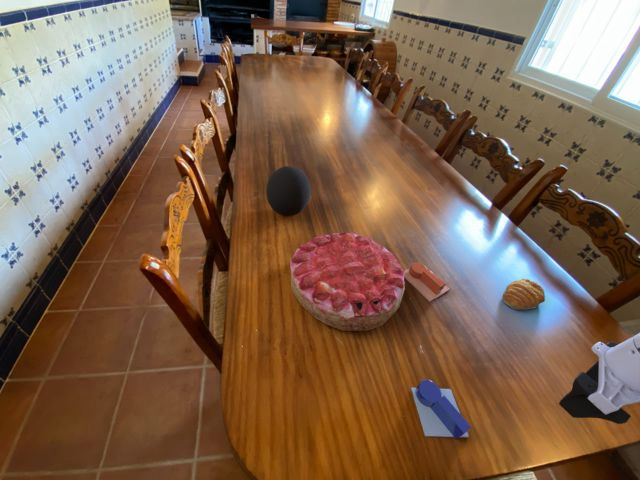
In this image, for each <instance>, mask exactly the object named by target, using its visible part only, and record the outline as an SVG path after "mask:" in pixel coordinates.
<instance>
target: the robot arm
mask: <svg viewBox="0 0 640 480" xmlns="http://www.w3.org/2000/svg"><path fill="white" fill-rule="evenodd" d="M590 350H591V351H592V352H593V353H594V354H595V355H596V356H597V357H598V360H597V361H596V362H595V363H594V364H593V365H592V366H591V367H589V369H588V370H586V372H585V371H581V372H580V373H579V374H578V375H577V376H576V377H575V378H574V380H573V382H572V387H571V390H570V391H569V392H568V393H566V395H564V396H563V397H562V398H561V399H560V401H559V402H558V404H559V407H561V408H562V409H563V410H565V412H566V413H567V414H568V415H570V417H572V418H576V419H592V418H593V419H601V420H605V421H608V422H612V423H614V424H617V425H623V424H627V423H628V422H629V419H630V418H631V417H632V415H631V414H629V412H627V411H626V410H625V409H624V408H622V407H625V406H628V405H633V404H638V403H640V332H638V333H636V334H635V335H633V336H631V337H630V338H628V339H626V340H624V341H622V342H621V343H619V344H618V343H617V342H614V341H609V342H607V343H606V344H605V343H604V342H602V341H597V342H596V343H594V345H593V346H591V348H590Z"/></svg>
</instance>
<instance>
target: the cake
mask: <svg viewBox="0 0 640 480" xmlns="http://www.w3.org/2000/svg"><path fill="white" fill-rule="evenodd" d="M289 265H290V286H291V290H292V292H293V294H294V297H295V298H296V299H297V300H298V302H299V303H300V305H301V307H303V308H304V309H305V310H306V311H307V312H308V313H309V314H311V316H313V317H314V318H315V319H317V320H318V321H319V322H321V323H322V324H325V325H327V326H330V327H332V328H335V329H338V330H341V331H350V332H351V331H352V332H353V331H354V332H363V331H364V332H365V331H370V330H373V329H376V328H378V327H381V326H383V325H384V324H385V323H386V322H387V321H388V320H389V319H390V318H391V317H392V316H393V315H394V314H395V313H396V312H397V311H398V310H399V308H400V306H401V304H402V303H401V302H402V299H403V296H404V293H405V290H406V288H405V287H406V286H405V278H404V271H405V270H404V268H403V267H402V265H401V264H400V263H399V261H398V260H397V258H396V257H395V255H394V253H393V252H392V251H389V250H388V249H386V247H384V246H383V245H381V244H379V243H377V242H376V241H374V240H373V239H372V238H371V237H370V236H366V235H365V236H364V235H359V234H356V233H353V232H342V233H339V232H335V231H334V232H332V233H330V234H319V235H317V236H314V237H313V238H312V239H310V240H309V241H308V242H307V243H304V244H300V245H299V246H298V247H297V248H296V250H295V252H294V254H293V256H292V257H291V259H290V260H289Z"/></svg>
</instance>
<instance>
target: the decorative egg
mask: <svg viewBox="0 0 640 480" xmlns="http://www.w3.org/2000/svg"><path fill="white" fill-rule="evenodd" d="M311 190H312V189H311V183H310V180H309V178H308V176H307V175H306V173H305V172H304V171H303V170H301V169H300V168H299V167H296V166H295V165H294V166H292V165H285V166H282V167H279V168H277V169H276V170H275V171H274V172H273V173H272V174H271V175H270V176H269V180H268V181H267V185H266V192H265V193H266V199H267V202H268V204H269V206H270V208H271V209H272V210H273V211H274V212H275V213H276V214H278V215H280V216H283V217H293V216H297V215H299V214H300V213H302V212H303V211H304V210H305V208H306V207H307V206H308V204H309V202H310V199H311V194H312V193H311V192H312V191H311Z"/></svg>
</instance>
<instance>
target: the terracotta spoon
mask: <svg viewBox="0 0 640 480" xmlns="http://www.w3.org/2000/svg"><path fill="white" fill-rule="evenodd" d="M409 268H410V269H409ZM409 268H408V269H409V274H410V275H411V276H412V277H414V278H416V279H419V280H420V281H421V282H422V283H424V284H425V285H426V286H427V287H428V288H429V289H430V290H431V291H432V292H433V293H434V294H435V295H437V294H438V293H440V292H441V291H442V289H443V288H444V286H446V285H447V283H446V282H444V280H443V279H441V278H440V277H439V276H438V275H436V273H434V272H433V271H432V270H431V269H429V268H427V267H426V265H424V264H423V263H420V262H417V261H415V262H412V263H411V265H410V267H409Z"/></svg>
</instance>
